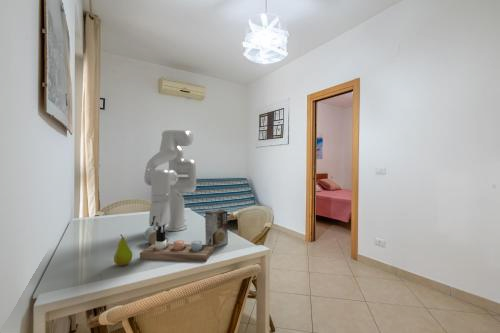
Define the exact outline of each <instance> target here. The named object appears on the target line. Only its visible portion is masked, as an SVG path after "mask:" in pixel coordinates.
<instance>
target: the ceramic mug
mask: <svg viewBox="0 0 500 333" xmlns="http://www.w3.org/2000/svg"><path fill="white" fill-rule="evenodd" d="M143 235H144V240H145V241H146V242H147V243H148V244H150V246H151V245H153V244H154V243H155V241H156V230H153V226H149V227H148V228H147V229H146V230H145V232H144V234H143ZM165 240H166V243H169V240H170V238H168V237H167V236H165Z"/></svg>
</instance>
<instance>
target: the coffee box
mask: <svg viewBox="0 0 500 333" xmlns="http://www.w3.org/2000/svg"><path fill="white" fill-rule="evenodd" d="M204 213H205V215H204V218H205V223H204V224H205V231H204V232H205V245H214V249H215V248H218V247H222V246H225V245H227V244H228V243H229V239H228V238H229V235H228V233H229V232H228V223H229V222H228V210H224V209H213V210H209V211H205V212H204Z"/></svg>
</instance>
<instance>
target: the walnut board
mask: <svg viewBox="0 0 500 333" xmlns="http://www.w3.org/2000/svg"><path fill="white" fill-rule="evenodd" d="M214 251H215V248H214V245H206V244H202V251H201V252H192V251H191V243H189V244H188V243H184V250H183V251H173V243H169V242H166V249H165V250H156V249H155V243H154V244H153V245H151V244H150V246H148V247H146V248H145V249H143V250H142V251H141V252H139V260H163V261H185V262H186V261H187V262H207V261H208V260H207V259H209V258H210V257H211V255H212V254H213V253H214Z"/></svg>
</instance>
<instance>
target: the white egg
mask: <svg viewBox="0 0 500 333" xmlns="http://www.w3.org/2000/svg"><path fill="white" fill-rule="evenodd" d="M166 243H167V242H166V240H165V241H163V242H157V241H155V249H156V250H165V249H166Z"/></svg>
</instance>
